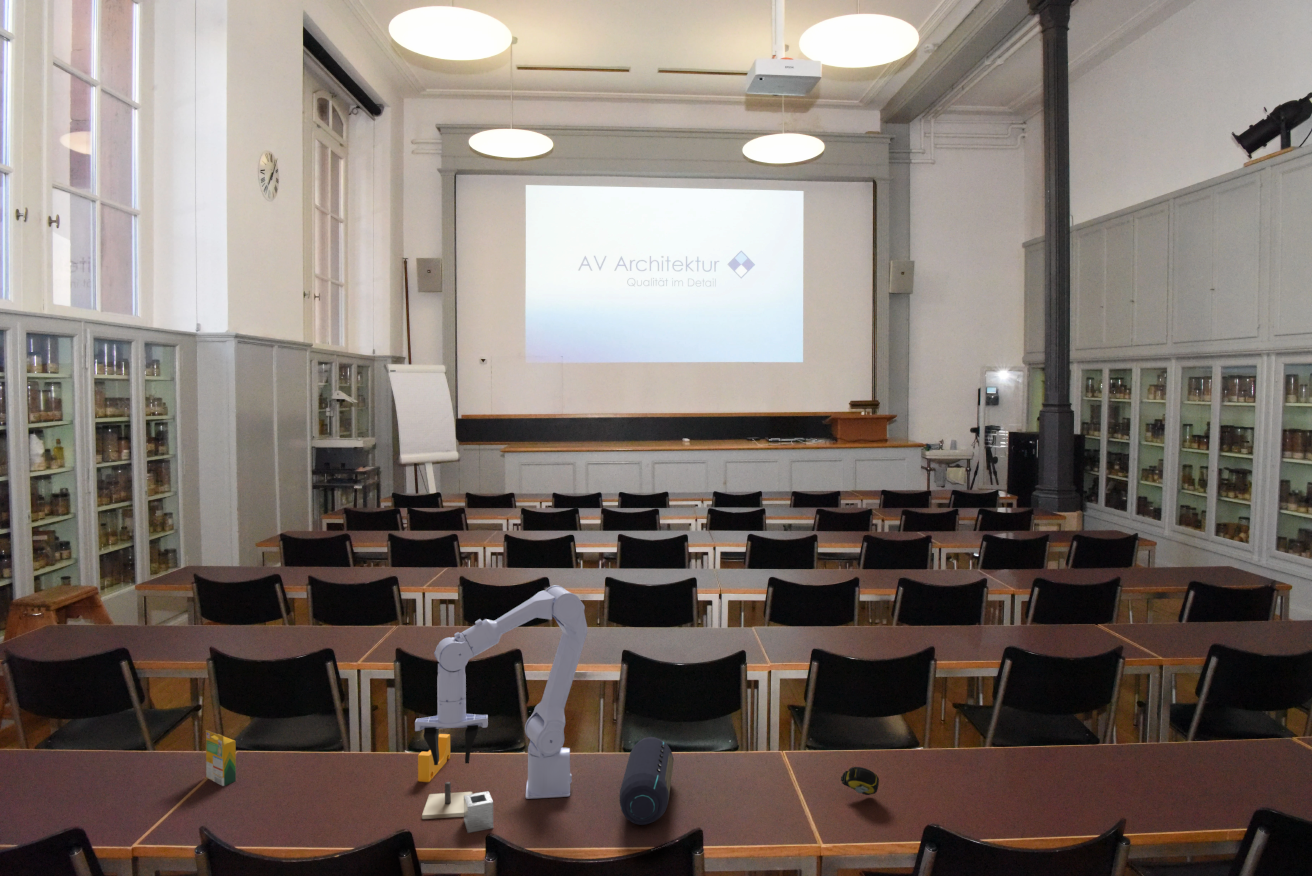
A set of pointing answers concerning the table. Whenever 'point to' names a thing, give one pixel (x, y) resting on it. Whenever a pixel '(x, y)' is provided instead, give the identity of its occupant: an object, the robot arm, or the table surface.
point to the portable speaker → (647, 781)
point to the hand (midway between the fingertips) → (452, 762)
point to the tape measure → (861, 780)
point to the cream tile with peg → (445, 804)
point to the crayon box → (220, 758)
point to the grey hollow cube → (478, 811)
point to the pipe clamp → (427, 763)
